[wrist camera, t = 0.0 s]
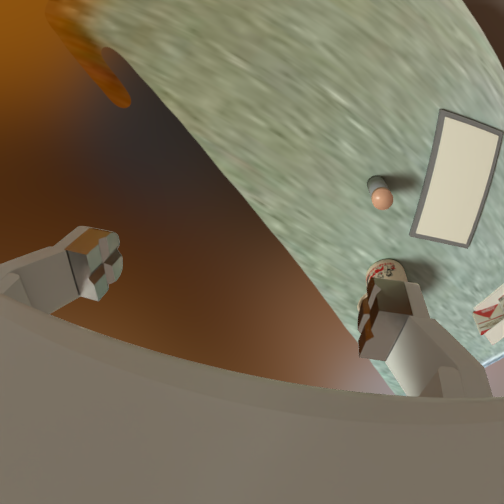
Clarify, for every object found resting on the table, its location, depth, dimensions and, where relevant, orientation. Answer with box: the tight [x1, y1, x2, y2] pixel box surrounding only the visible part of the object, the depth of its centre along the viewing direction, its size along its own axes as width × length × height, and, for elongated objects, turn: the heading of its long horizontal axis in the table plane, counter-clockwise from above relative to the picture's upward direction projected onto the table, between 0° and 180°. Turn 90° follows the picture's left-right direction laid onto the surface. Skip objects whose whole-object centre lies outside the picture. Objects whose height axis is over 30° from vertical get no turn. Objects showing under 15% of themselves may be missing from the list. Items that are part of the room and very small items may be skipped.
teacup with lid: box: [357, 259, 408, 311], centre depth 59 cm, size 12×9×12 cm
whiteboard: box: [409, 109, 503, 249], centre depth 49 cm, size 25×14×1 cm, turn 176°
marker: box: [367, 176, 393, 210], centre depth 51 cm, size 4×4×8 cm
